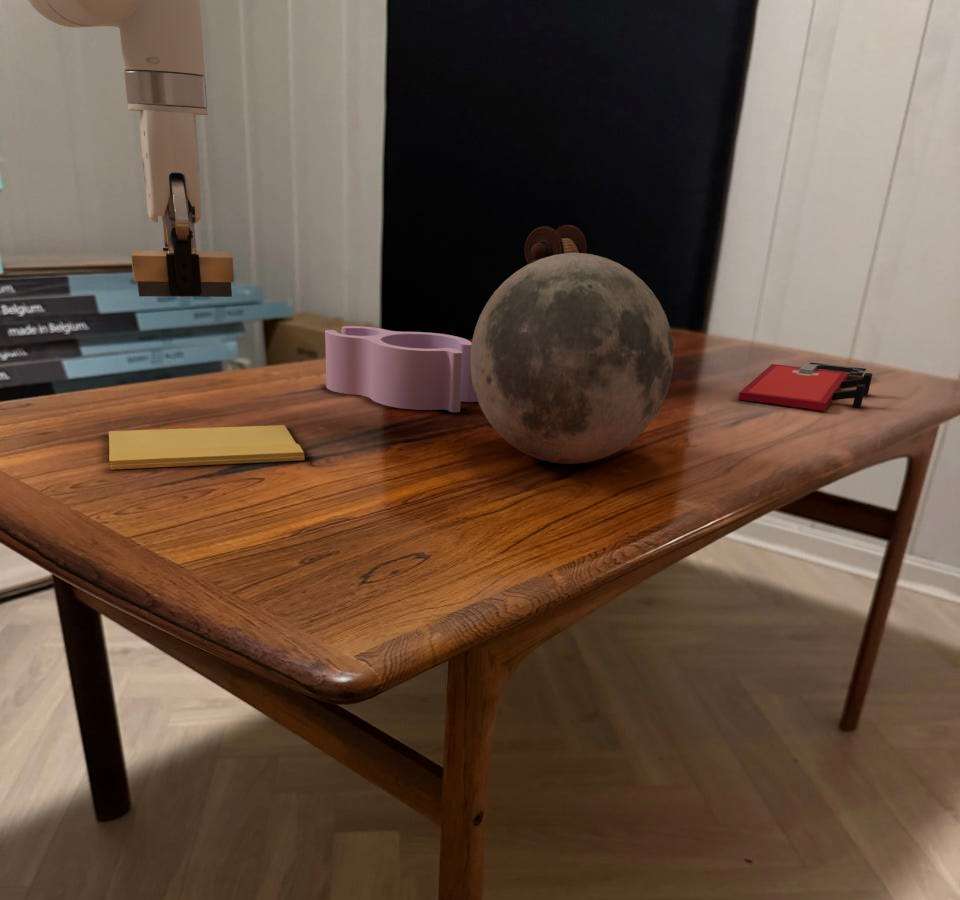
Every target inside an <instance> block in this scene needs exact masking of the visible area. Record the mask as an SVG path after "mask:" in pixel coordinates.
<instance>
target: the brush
mask: <svg viewBox="0 0 960 900" xmlns="http://www.w3.org/2000/svg"><path fill="white" fill-rule="evenodd" d="M166 254H169V252H168V251H163V250H143V249H142V250H141V249H130V260H131V268H132V276H133V281H134V282H136V287H137V292H138V297H159V298H161V297H164V298H165V297H167V298H168V297H172V298H173V297H182V298H183V297H184V298H185V297H187V298H189V297H191V298H194V297H196V298H197V297H199V298H203V297H204V298H227V297H228V298H232V297H233V289H232V283H235V273H234V258H233V256H232V255H231V254H230V253H229V252H227V251H199V250H198V251H197V254H198V255H199V264H200V277H201V290H202V293H201V295H200V296H173V295H171V294H170V291H169V281H168V271H167V260H166Z"/></svg>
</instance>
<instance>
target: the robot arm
mask: <svg viewBox="0 0 960 900" xmlns="http://www.w3.org/2000/svg"><path fill="white" fill-rule="evenodd" d="M27 1H28V3H29V4H30V5H31V7H33V9H34V10H35V11H36V12H37V13H38V14H40V15H41V16H42V17H44V18H45V19H46V20H49V21H50V22H52V23H55V24H57V25H59V26H63V27H66V28H77V29H78V28H95V27H116V28H118V30H119V36H120V46H121V55H122V65H123V66H122V67H123V71H124V72H123V74H124V83H125V94H126V102H127V103H126V104H127V110H128V111H133V112H139V123H140V124H139V128H140V131H139V132H140V147H141V157H142V167H143V177H144V188H145V198H146V209H147V215H148V217H149V219H150V220H151V221H152V222H154V223H158V222H159V218H158V217H161V220H162V230H163V245H164V247H162V251H168V252H169V254H166V260H167V271H168V281H169V291H170V294H171V295H173V296H200V295H201V293H202V290H201V277H200V264H199V255H198V254H197V249H198V248H197V240H196V230H195V224H197V223H198V222H199V221H201V216H202V215H201V214H202V213H201V208H202V207H201V206H202V205H201V203H202V202H201V175H200V173H201V172H200V158H199V143H198V130H197V116H208V101H207V88H206V87H207V86H206V77H205V75H206V73H205V59H204V47H203V45H204V44H203V32H202V31H203V29H202V17H201V4H200V3H201V1H200V0H27ZM196 115H197V116H196Z"/></svg>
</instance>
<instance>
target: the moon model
mask: <svg viewBox="0 0 960 900" xmlns="http://www.w3.org/2000/svg"><path fill="white" fill-rule="evenodd" d="M671 330H672V329H671V326H670V323H669V321H668V318H667V314H666V312H665V310H664V309H663V306H662V305H661V302H660V300H658V298H657V296H656V295H655V293H654V292H653V290H652V289H650V287H649V286H648V285H647V284H646V282H645V281H643V280H642V279H641V277H639V276H638V275H636V274H635V272H633V271H632V270H630V269H629V268H627V267H625V266H624V265H622V264H620V263H619V262H617V261H614V260H612V259H609V258H607V257H605V256H604V257H603V256H600V255H595V254H592V253H586V254H584V253H566V254H558V255H553V256H549V257H546V258H542V259H539V260H537V261H535V262H533V263H530V264H528V263H527V264H526V265H525V266H522V267H521V268H520V269H518V270H517V271H515V272H514V273H513V274H511V275H510V276H509V277H508V278H506V279H505V280H504V281H503V282H502V284H500V285H499V287H498V288H496V290H495V291H494V292H493V294H492V295H491V296H490V298H489V299H488V300H487V302H486V303H485V305H484V307H483V309H482V311H481V313H480V314H479V317H478V320H477V322H476V325H475V327H474V331H473V336H472V340H471V343H472V345H471V354H470V371H471V377H472V384H473V388H474V391H475V395H476V398H477V400H478V402H477V403H478V405H479V408H480V410H481V412H482V413H483V415H484V417H485V418H486V420H487V421H488V423H489V425H491V427H492V428H493V429H494V431H496V433H497V434H498V435H499V436H500V437H501V438H503V440H505V441H506V442H507V444H509V445H510V446H512V447H514V448H515V449H516V450H518V451H519V452H521V453H523V454H525V455H527V456H530V457H532V458H534V459H537V460H540V461H544V462H548V463H552V464H559V465H577V464H586V463H591V462H595V461H598V460H601V459H604V458H607V457H610V456H611V455H613V454H615V453H618V452H619V451H621V450H623V449H624V448H625V447H627V446H630V445H631V443H633V442H634V441H635V440H637V439H638V437H640V436H641V435H642V434H643V433H644V432H645V430H646V429H647V428H648V427H649V426H650V425H651V423H652V422H653V421H654V419H655V418H656V416H657V415H658V414H659V412H660V409H661V408H662V406H663V404H664V401H665V400H666V397H667V395H668V391H669V389H670V385H671V381H672V375H673V371H674V357H675V355H674V341H673V335H672V331H671Z"/></svg>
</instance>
